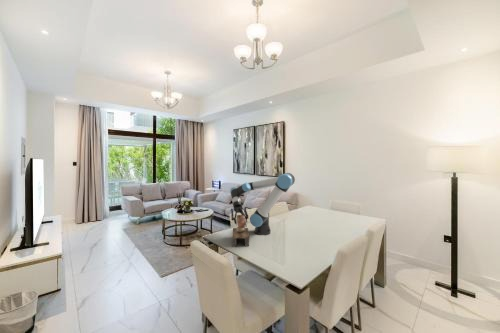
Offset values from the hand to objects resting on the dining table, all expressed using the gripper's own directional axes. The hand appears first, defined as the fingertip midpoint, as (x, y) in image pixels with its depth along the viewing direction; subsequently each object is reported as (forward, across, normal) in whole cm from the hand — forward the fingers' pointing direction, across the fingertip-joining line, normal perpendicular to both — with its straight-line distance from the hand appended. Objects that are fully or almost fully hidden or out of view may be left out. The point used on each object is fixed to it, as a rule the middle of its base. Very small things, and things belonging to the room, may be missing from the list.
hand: (241, 226), depth 178 cm
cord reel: (0, 0, -5) cm, 5 cm away
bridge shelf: (+7, 0, -12) cm, 14 cm away
